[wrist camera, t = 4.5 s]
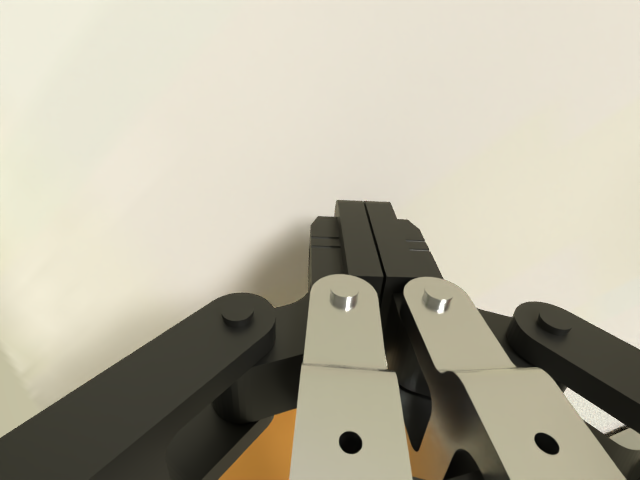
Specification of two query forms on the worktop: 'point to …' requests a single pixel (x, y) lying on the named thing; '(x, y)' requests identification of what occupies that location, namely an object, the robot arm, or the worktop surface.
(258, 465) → the ball
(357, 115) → the worktop surface
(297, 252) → the worktop surface
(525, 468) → the robot arm
